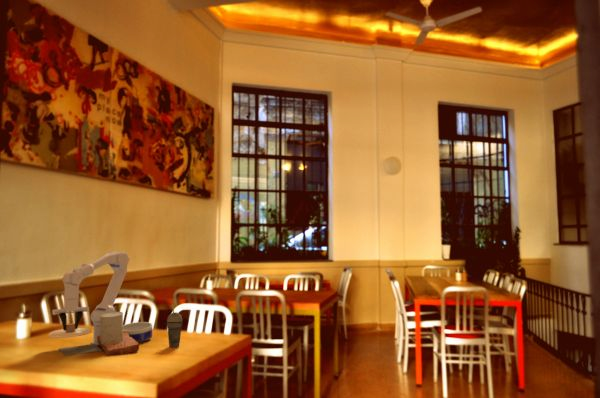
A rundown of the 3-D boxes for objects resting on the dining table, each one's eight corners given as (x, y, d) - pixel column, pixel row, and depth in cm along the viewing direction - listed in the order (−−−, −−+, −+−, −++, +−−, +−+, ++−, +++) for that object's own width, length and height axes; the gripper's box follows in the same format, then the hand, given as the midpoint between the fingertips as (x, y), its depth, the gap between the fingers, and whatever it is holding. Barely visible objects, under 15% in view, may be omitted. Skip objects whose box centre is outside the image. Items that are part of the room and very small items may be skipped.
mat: (94, 345, 212) (94, 343, 212) (102, 352, 200) (102, 350, 200) (58, 350, 203) (58, 348, 203) (64, 358, 191) (64, 355, 191)
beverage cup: (177, 349, 206) (178, 304, 208) (163, 348, 208) (163, 303, 209) (185, 345, 213) (185, 302, 215) (170, 344, 215) (171, 301, 216)
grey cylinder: (127, 340, 207) (127, 313, 207) (108, 346, 199) (108, 318, 199) (115, 336, 213) (114, 310, 212) (96, 342, 205) (95, 315, 205)
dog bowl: (112, 341, 220) (112, 328, 220) (135, 332, 234) (135, 320, 234) (137, 345, 214) (137, 332, 214) (159, 335, 228) (158, 323, 228)
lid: (92, 328, 213) (92, 320, 213) (90, 335, 197) (90, 326, 198) (51, 331, 207) (51, 323, 207) (45, 339, 191) (46, 329, 191)
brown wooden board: (123, 334, 224) (123, 327, 224) (139, 351, 199) (139, 344, 199) (94, 339, 217) (94, 332, 217) (108, 357, 192) (108, 350, 192)
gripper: (86, 296, 211) (85, 326, 210) (51, 298, 203) (50, 329, 202) (90, 298, 206) (89, 328, 204) (54, 300, 197) (53, 332, 196)
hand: (70, 329), depth 203 cm, fingers closed on lid, 4 cm apart
